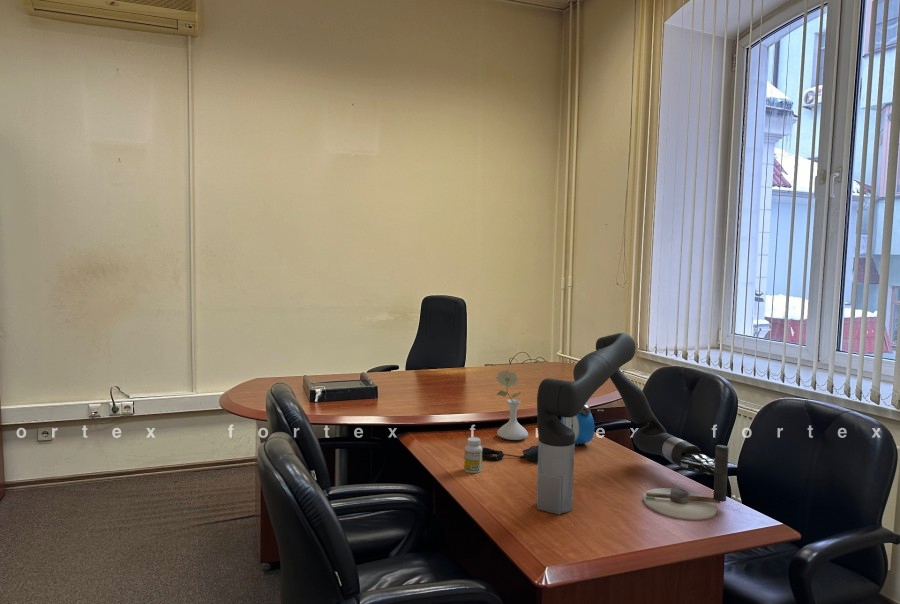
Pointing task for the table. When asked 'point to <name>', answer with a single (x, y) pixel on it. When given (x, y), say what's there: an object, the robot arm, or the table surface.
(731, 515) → the table surface
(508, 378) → the flower in vase
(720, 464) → the dial
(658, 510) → the plate
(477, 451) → the supplement bottle
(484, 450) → the computer mouse
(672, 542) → the table surface
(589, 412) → the alarm clock
